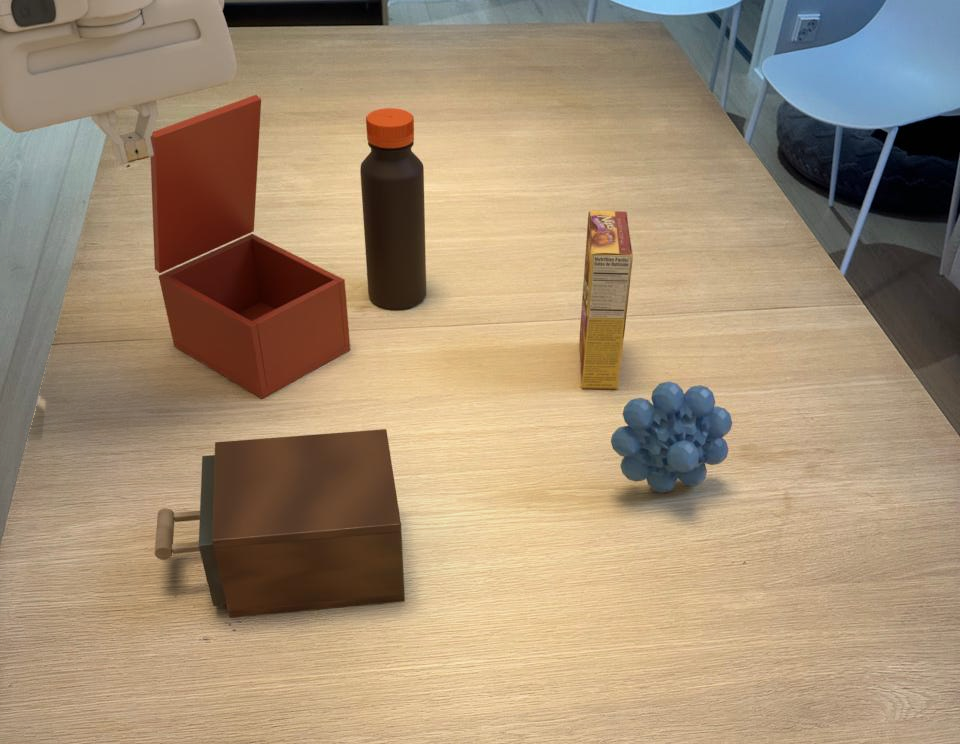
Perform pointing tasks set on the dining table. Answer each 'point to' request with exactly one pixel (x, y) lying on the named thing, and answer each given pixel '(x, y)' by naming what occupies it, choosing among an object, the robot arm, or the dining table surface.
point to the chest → (256, 314)
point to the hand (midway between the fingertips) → (135, 158)
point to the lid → (204, 182)
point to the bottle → (393, 211)
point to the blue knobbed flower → (672, 436)
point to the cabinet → (307, 523)
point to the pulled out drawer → (205, 543)
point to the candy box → (604, 298)
